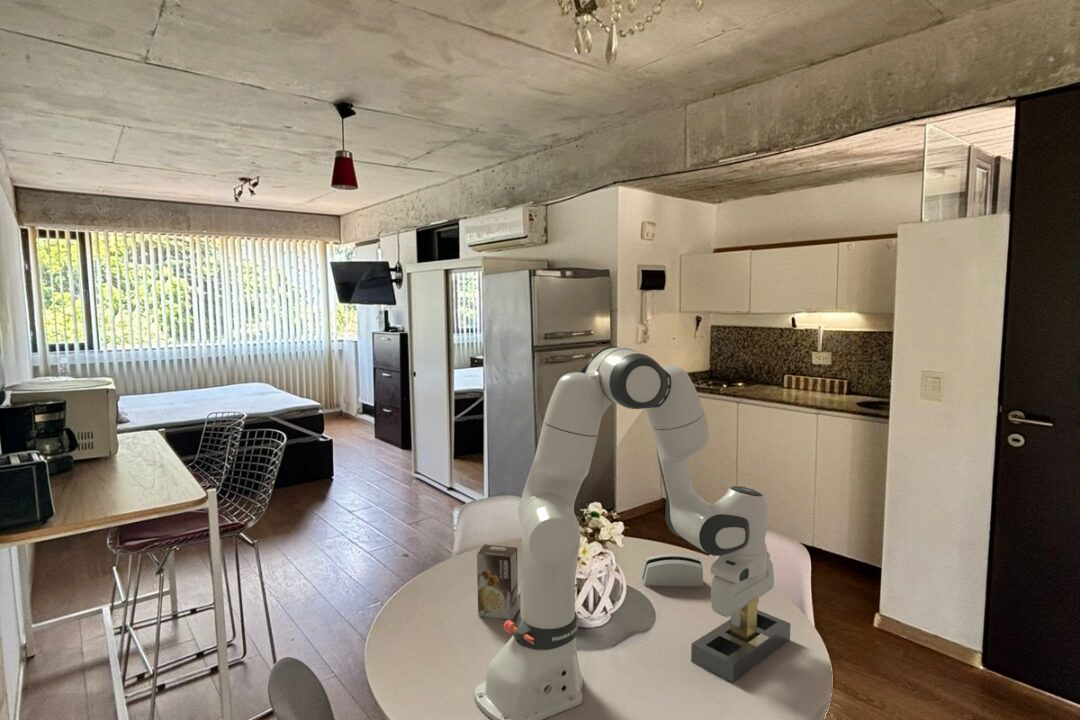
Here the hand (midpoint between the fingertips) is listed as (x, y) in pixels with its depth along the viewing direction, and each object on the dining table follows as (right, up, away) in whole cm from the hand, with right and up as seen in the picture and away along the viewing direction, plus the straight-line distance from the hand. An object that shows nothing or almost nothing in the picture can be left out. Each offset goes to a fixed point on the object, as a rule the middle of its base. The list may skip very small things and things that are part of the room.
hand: (743, 620), depth 130 cm
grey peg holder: (0, -7, +1) cm, 7 cm away
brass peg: (0, -4, 0) cm, 4 cm away
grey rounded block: (-8, -5, +33) cm, 34 cm away
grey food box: (-56, -6, +18) cm, 59 cm away
